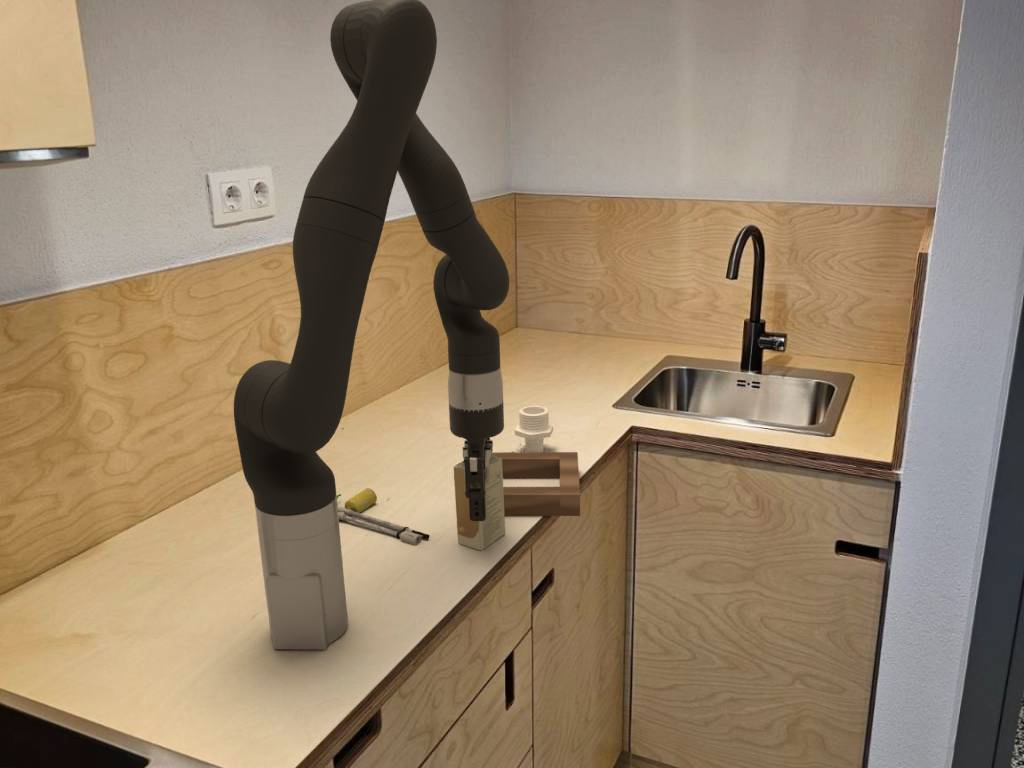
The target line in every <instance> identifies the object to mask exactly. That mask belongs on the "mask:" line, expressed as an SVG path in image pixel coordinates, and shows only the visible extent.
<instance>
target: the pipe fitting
mask: <svg viewBox="0 0 1024 768" xmlns="http://www.w3.org/2000/svg"><path fill="white" fill-rule="evenodd" d="M549 415H550V414H549V409H548V408H547V407H544V406H540V405H529V406H525V407H521V409H519V410H518V417H519V419H518V420H519V421H518V422H519V423H518V424H517V426H516V427H515V428H514V435H515V436H517V437H519V438H523V439H524V444H525V445H524V448H525V452H544V449H545V448H544V441H545V439H544V438H550V437H551V436H552V434H553V432H554V424H551V423H549V420H550V419H549V418H550V417H549Z"/></svg>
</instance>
